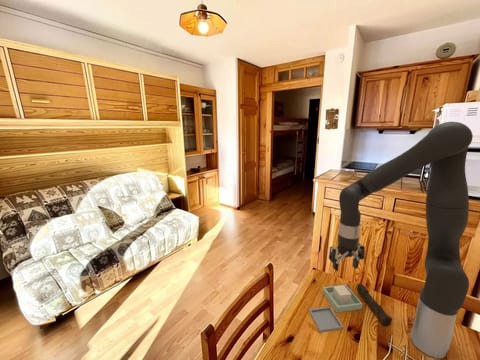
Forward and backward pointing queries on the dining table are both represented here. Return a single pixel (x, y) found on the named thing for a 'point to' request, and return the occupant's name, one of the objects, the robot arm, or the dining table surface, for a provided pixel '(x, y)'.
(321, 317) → the bin
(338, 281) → the dining table surface
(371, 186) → the robot arm
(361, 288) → the hand tool
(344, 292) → the beige block
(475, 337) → the dining table surface
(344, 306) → the bin
